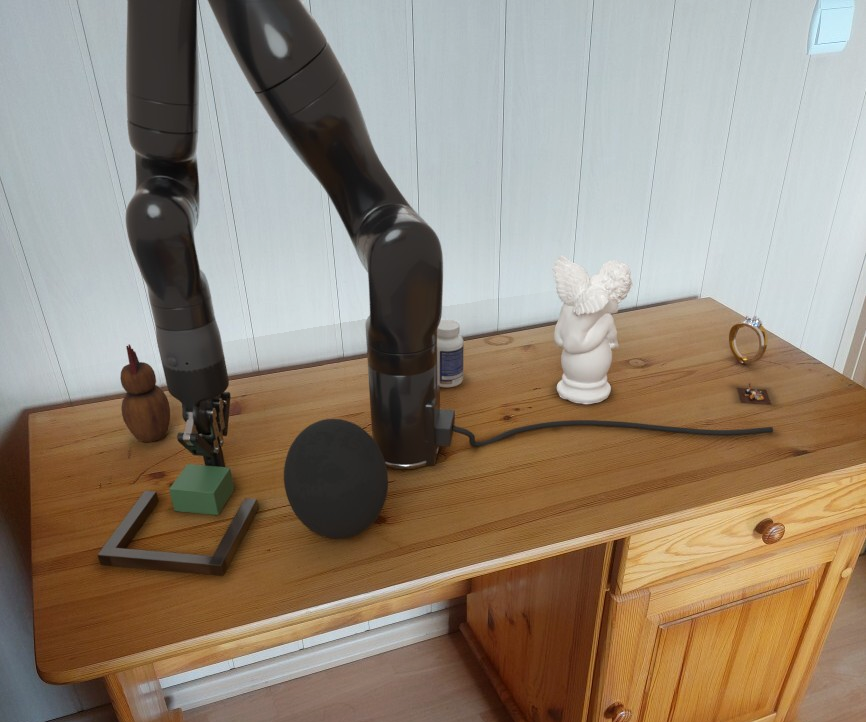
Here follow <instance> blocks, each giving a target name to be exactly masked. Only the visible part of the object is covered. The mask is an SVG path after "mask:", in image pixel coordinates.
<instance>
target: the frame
mask: <svg viewBox="0 0 866 722" xmlns="http://www.w3.org/2000/svg"><path fill="white" fill-rule="evenodd" d="M159 501H160V500H159V497H158V493H157V491H156V490H144V491H143V492H142V494H141V495H140V496H139V498H138V499H137V501H136V502H135V503H134V505H133V506H132V507H131V509H130V510H129V511H128V512H127V514H126V515H125V517H124V518H123V520H122V521H121V522H120V523H119V525H118V526H117V528H116V529H115V530H114V532H113V533H112V535H111V536H110V537H109V538H108V540H107V541H106V542H105V544H104V545H103V547H101V549H100V550H99V552H98V553H97V558H98V562H99V564H100V566H104V567H105V566H107V567H116V568H117V567H119V568H127V569H128V568H129V569H139V570H140V569H141V570H153V571H163V572H173V573H174V572H175V573H184V574H185V573H187V574H197V575H209V576H220V577H223V576H224V575H225V573H226V572H227V569H228V567H229V565H230V563H231V562H232V560H233V558H234V556H235V554H236V552H237V550H238V548H239V546H240V544H241V543H242V540H243V539H244V537H245V536H246V534H247V531H248V529H249V528H250V526H251V524H252V522H253V520H254V518H255V516H256V514H257V512H258V511H259V505H258V499H257V498H249V497H245V498H244V499H243V500H242V503H241V505H240V506H239V508H238V510H237V512H236V514H235V515H234V517H233V518H232V521H231V522H230V524H229V526H228V528H227V529H226V531H225V533H224V535H223V537H222V538H221V540H220V542H219V543H218V545H217V547H216V549H215V551H214V553H213V555H205V554H204V555H203V554H190V553H181V552H168V551H157V550H147V549H135V548H127V547H128V546H129V544H130V543H131V542H132V540H133V539H134V538H135V536H136V535H137V533H138V532H139V530H140V529H141V527H142V526H143V525H144V523H145V522H146V520H147V519H148V517H149V516H150V515H151V513H152V512H153V510H154V509H155V508H156V507H157V505H158V503H159Z"/></svg>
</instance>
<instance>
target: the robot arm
mask: <svg viewBox="0 0 866 722" xmlns="http://www.w3.org/2000/svg"><path fill="white" fill-rule="evenodd" d="M126 3H127V4H126V5H127V6H126V45H125V48H126V51H125V83H126V84H125V89H126V90H125V91H126V94H125V95H126V118H127V120H126V124H127V126H126V127H127V135H128V140H129V144H130V147H131V148H132V149H133V151H134V161H135V192H134V194H133V196H132V197H131V199H130V200H129V202H128V204H127V207H126V210H125V228H126V234H127V238H128V242H129V246H130V249H131V252H132V255H133V257H134V260H135V262H136V264H137V268H138V270H139V272H140V275H141V277H142V279H143V280H144V283H145V285H146V288H147V294H148V295H147V296H148V300H149V305H150V308H151V309H150V310H151V313H152V317H153V318H152V319H153V322H154V326H155V327H154V328H155V337H156V344H157V348H158V353H159V356H160V362H161V365H162V370H163V374H164V379H165V382H166V388H167V391H168V394H170V396H172V397H173V398H174V399H176V400H178V402H179V403H181V408H182V411H181V412H182V413H181V414H182V415H181V416H182V419H183V421H184V422H185V427H184V432H181V431H179V432H177V435H176V440H177V442H178V443H179V444H180V445H181V446H183V447H184V448H185V449H186V450H187V451H188V452H189V453H190V454H191V455H193V456H200V457H203V458H202V459H203V462H204V465H205V466H217V467H227V466H226V462H225V457H224V452H223V447H224V443H225V441H224V437H227V436H228V431H229V419H230V407H231V396H232V395H231V392H230V391H227V389H228V387H229V385H230V380H229V379H230V378H229V374H228V369H227V364H226V358H225V353H224V346H223V342H222V337H221V332H220V328H219V325H218V323H217V320H216V319H217V318H216V315H215V309H214V304H213V298H212V293H211V289H210V285H209V282H208V279H207V276H206V273H204V271H203V270H201V268H200V263H199V262H200V261H199V258H198V257H199V256H198V254H197V248H196V247H197V246H196V242H195V231H196V228H197V226H198V223H199V219H200V206H201V205H200V204H201V203H200V202H201V197H200V196H201V194H200V179H199V178H200V175H199V165H198V158H197V157H198V155H197V150H198V140H199V121H200V119H199V118H200V117H199V115H200V64H199V63H200V61H199V36H198V0H127V1H126ZM207 3H208V4H209V7H210V8H211V11H212V13H213V15H214V18H215V20H216V22H217V24H218V26H219V28H220V30H221V33H222V35H223V37H224V39H225V41H226V43H227V45H228V47H229V49H230V51H231V54H232V55H233V56H234V59H235V61H236V63H237V65H238V67H239V69H240V71H241V72H242V74H243V76H244V77H245V80H246V81H247V84H248V85H249V86H250V88H251V90H252V91H253V93H254V95H255V97H256V98H257V99H258V101H259V102H260V104H261V106H262V107H263V109H264V111H265V112H266V114H267V115H268V117H269V118H270V120H271V121H272V123H273V124H274V126H275V128H276V129H277V131H278V132H279V133H280V135H281V136H282V137H283V139H284V140H285V142H286V143H287V144H288V146H289V147H290V148H291V150H292V151H293V152H294V153H295V155H296V156H297V157H298V159H299V160H300V161H301V163H302V164H303V165H304V166H305V167H306V168H307V169H308V171H309V172H310V173H311V174H312V175H313V176H314V178H315V179H316V181H318V183H319V185H320V186H321V187H322V188H323V190H324V191H325V193H326V194H327V197H329V199H330V201H331V203H332V204H333V207H334V209H335V210H336V212H337V214H338V217H339V218H340V220H341V222H342V224H343V227H344V228H345V230H346V232H347V234H348V237H349V239H350V241H351V243H352V245H353V247H354V250H355V252H356V255H357V257H358V259H359V262H360V263H361V265H362V267H363V268H364V269H365V271H366V273H367V279H368V280H367V281H368V298H369V301H368V302H369V315H368V317H367V318H366V320H365V341H366V356H367V357H366V358H367V372H368V373H367V374H368V389H369V391H368V392H369V407H370V408H369V409H370V424H371V437H372V438H373V439H374V441H375V442H376V443H377V445H378V447H379V448H380V450H381V452H382V454H383V457H384V460H385V463H386V467H387V468H389V469H394V470H400V471H401V470H404V471H405V470H407V471H408V470H416V469H420V468H423V467H426V466H427V467H429V466H430V467H432V466H435V465H436V461H437V458H438V455H439V451H440V447H441V446H442V447H451V443H452V439H453V435H454V433H457V434H461V435H464V436H466V437H468V439H469V441H468V442H469V445H470V446H472V447H475V448H480V447H484V446H486V445H489V444H492V443H495V442H499V441H501V440H505V439H506V438H509V437H511V436H514V435H518V434H522V433H525V432H526V433H527V432H530V431H537V430H543V429H549V428H559V427H560V428H561V427H573V426H574V427H575V426H578V427H579V426H581V427H583V426H590V427H594V426H595V427H609V428H610V427H611V428H612V427H613V428H614V427H615V428H625V429H626V428H627V429H638V430H646V431H656V432H665V433H677V434H689V435H697V436H698V435H700V436H716V437H717V436H728V437H729V436H746V435H757V434H768V433H769V434H770V433H773V432H774V427H773V426H766V427H765V426H764V427H756V428H745V429H742V428H741V429H703V428H689V427H679V426H669V425H658V424H657V425H656V424H649V423H648V424H647V423H640V422H639V423H638V422H628V421H615V420H614V421H613V420H596V419H595V420H593V419H590V420H589V419H587V420H586V419H572V420H558V421H548V422H547V421H546V422H539V423H536V424H535V423H533V424H529V425H524V426H518V427H516V428H512V429H509V430H507V431H504V432H502V433H500V434H498V435H496V436H494V437H492V438H489V439H486V440H482V441H478V440H476V437H475V436H476V435H475V434H474V433H473V432H471V431H470V430H468V429H467V428H464V427H460V426H456V425H455V424H456V423H455V422H456V421H455V420H456V419H455V417H456V410H455V409H446V408H445V409H444V408H443V409H442V408H441V387H440V386H439V385H437V329H438V326H439V324H440V321H441V320H442V317H443V316H442V314H443V293H444V291H443V290H444V257H443V254H444V253H443V250H442V249H443V248H442V244H441V241H440V238H439V236H438V234H437V233H436V231H435V230H434V229H433V228H432V226H430V225H429V223H428V222H427V221H426V220H425V219H424V218H423V217H422V216H421V215H420V214H419V213H418V212H417V211H416V210H415V209H414V208H413V206H412V205H410V203H409V202H408V201H407V199H406V197H405V196H404V195H403V194H402V193H401V190H399V188H398V187H397V185H396V183H395V182H394V180H393V178H392V176H390V174H389V173H388V171H387V170H386V168H385V167H384V165H383V163H382V162H381V160H380V157H379V156H378V154H377V151H376V149H375V147H374V145H373V142H372V139H371V137H370V134H369V131H368V128H367V124H366V121H365V119H364V115H363V112H362V110H361V107H360V105H359V102H358V99H357V97H356V95H355V92H354V90H353V87H352V85H351V83H350V81H349V79H348V77H347V74H346V72H345V71H344V69H343V67H342V65H341V63H340V61H339V59H338V58H337V56H336V54H335V52H334V51H333V49H332V47H331V45H330V43H329V41H328V39H327V38H326V36H325V34H324V32H323V30H322V28H321V27H320V26H319V25H318V23H317V21H316V19H315V18H314V16H313V14H312V13H311V11H310V10H309V8H308V7H307V5H306V4H305V2H304V1H303V0H207Z"/></svg>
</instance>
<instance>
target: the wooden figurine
mask: <svg viewBox="0 0 866 722" xmlns="http://www.w3.org/2000/svg"><path fill="white" fill-rule="evenodd" d="M125 349H126V352H127V358H128V364H126V365H124V366H123V367H122V369H121V370H120V376H119V377H120V383H121V386H122V389H123V390H124V391H125V392H126V393H125V395H124V397H123V399H122V401H121V416H122V419H123V422H124V424H125V426H126V428H127V429H128V431H129V432H130V433H131V434H132V436H134V438H135V439H136V440H138V441H141V442H144V443H153V442H156V441H159V440H161V439H162V438H164V437H165V436H166V435H167V434H168V432H169V429H170V423H171V407H170V401H169V399H168V397H167V394H165V392H164V390H163V388H161V387H160V386H159V385H157V377H156V373H155V371H154V369H153V367H152V366H151V365H150V364H149V363H148V362H147V363H146V362H142V361H140V360H139V357H138V355H137V353H136V351H135V350H134V348H132V346H131V344H130V343H129V344H128V345H126V348H125Z"/></svg>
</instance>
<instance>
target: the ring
mask: <svg viewBox="0 0 866 722" xmlns="http://www.w3.org/2000/svg"><path fill="white" fill-rule="evenodd" d="M745 327H747V328H749V329H751V330H752V331H754V332H755V334H756V336H757V338H758V350H757V353H756V354H755V356H754V357H752V358H748V357H747V356H745V355H742V354H741V353H740V352H739V349H738V347H737V343H736V342H737V341H736V340H737V339H736V338H737V335H738V332H739V330H740V329H741V328H745ZM768 339H769V338H768V334H767V331H766V329H765V327H764V325H763V321H762V320H760V317H757V315H753V317H749V315H745V319H742V320H740V321H739V322H738V323H736V324H734V325H732V327H731V328H730V330H729V333H728V344H729V349H730V351H731V353H732V356H733V357H734V358H735V359H736V360H737V361H738V363H739V364H745V365H746V364H748V365H749V364H752V363H756V362H758V361H759V360H760V359H761V358H762V357H763V356H764V354H765V352H766V350H767V347H768V342H769V341H768Z"/></svg>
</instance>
